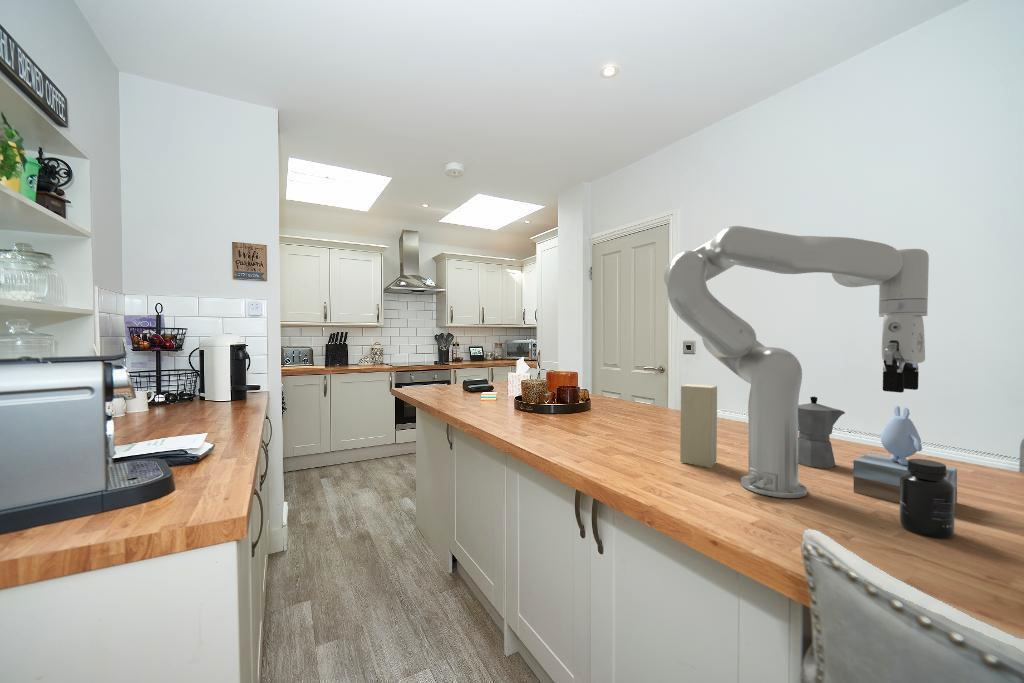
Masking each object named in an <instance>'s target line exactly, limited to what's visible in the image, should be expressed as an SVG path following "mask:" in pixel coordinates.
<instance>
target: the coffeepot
mask: <svg viewBox="0 0 1024 683" xmlns="http://www.w3.org/2000/svg"><path fill="white" fill-rule="evenodd" d="M809 398H810V402H809V403H803V404H798V463H799V464H798V465H801V464H802V466H804V465H806V466H805V467H808V466H811V468H814V467H821V468H820V469H832V468H831V467H833V468H835V467H836V461H835V457H834V452H833V445H832V443H831V442H832V441H831V440H830V438H831V437H830V435H832V433H833V428H834V425H835V424H836V423H837V421H838V420H839V419H840V417H842V415H844V414H846V412H845V411H844V410H841V409H838V408H833V407H830V406H827V405H823V404H820V403H817V402H818V397H816V396H811V397H809ZM834 466H835V467H834Z"/></svg>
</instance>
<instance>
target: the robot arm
mask: <svg viewBox="0 0 1024 683" xmlns="http://www.w3.org/2000/svg"><path fill="white" fill-rule="evenodd" d="M929 262H930V258H929V253H928V251H927V250H924V249H922V248H905V249H903V248H902V249H896V247H893V246H891V245H889V244H886V243H883V242H879V241H874V240H867V239H862V238H854V237H846V236H845V237H844V236H843V237H842V236H822V235H821V236H816V235H795V234H788V233H784V232H778V231H777V232H776V231H770V230H765V229H759V228H754V227H747V226H742V225H732V226H728V227H725V228H723V229H722V230H721V231H719V232H718V233H717V234H716V235H715V236H714V237H713V238H712V239H710V240H709V241H708V242H705V243H704V244H702V245H701V246H698V247H697V248H696V249H694V250H685V251H684V250H683V251H681V252H679V253H678V254H676V255H674V257H672V258H671V260H670V261H669V263H668V264H667V266H666V267H665V269H664V272H663V282H664V283H665V285H666V290H667V292H666V293H667V297H668V300H669V303H670V305H671V308H672V309H673V311H674V313H675V314H676V316H677V317H678V318H680V320H681V321H682V322H683V323H685V324H686V325H687V326H688V327H689V328H690V329H692V330H693V331H694V332H695V333H696V334H697V335H698V336H700V338H701V340H702V344H703V346H704V347H705V349H706V350H707V352H708V353H709V354H711V355H712V356H713V357H714V358H715V359H716V360H718V362H720V363H722V364H723V365H724V366H725V367H726V368H727V369H729V370H730V371H731V372H733V373H734V374H735V375H736V376H738V377H739V378H740V379H741V380H743V381H745V383H747V384H750V390H749V394H748V396H749V397H748V402H747V404H748V407H747V416H748V417H747V418H748V419H747V421H748V423H747V424H748V425H747V426H748V427H747V429H748V432H747V433H748V435H747V437H748V438H747V439H748V440H747V441H748V442H747V444H748V450H747V451H748V454H747V455H748V467H747V468H748V474H746V475H744V476H742V477H741V478H740V484H741V486H742V487H743V488H744V489H747V490H749V491H751V492H754V493H756V494H760V495H763V496H764V495H765V496H768V497H775V498H781V499H797V498H798V499H799V498H802V497H803V498H804V497H805V496H807V494H808V488H807V486H806V485H804V484H803V483H802V482H799V464H798V438H799V431H798V405H799V398H800V392H801V386H802V379H803V370H802V365H801V363H800V360H799V359H798V357H796V356H795V355H794V354H793V353H792V352H790V351H788V350H787V349H784V348H780V347H773V346H771V347H769V346H765V345H764V344H763V343H761V342H760V341H759V340H757V333H756V330H755V329H754V328H753V326H752V325H750V324H749V322H747V321H746V320H745V319H743V318H741V317H740V316H739V315H737V314H736V313H735V312H733V311H732V310H730V309H729V308H728V307H727V306H725V305H724V304H723V303H722V302H721V301H720V300H719V299H717V298H716V297H715V295H713V294H712V293H711V291H710V290H709V288H708V284H707V281H710V280H711V279H713V278H716V277H717V276H719V275H721V274H722V273H724V272H725V271H727V270H729V269H731V268H732V267H734V266H740V267H745V268H751V269H756V270H761V271H767V272H772V273H776V274H782V275H800V274H809V273H810V274H812V273H824V274H831V276H832V278H833V280H834V282H836V283H838V285H840V286H843V287H847V288H861V287H869V286H879V290H878V291H879V293H878V294H879V295H878V297H879V298H878V299H879V300H878V317H880V318H882V317H883V324H882V333H881V334H882V335H881V336H882V337H881V359H882V361H883V366H882V367H883V368H882V391H883V392H891V393H904V392H905V390H913V391H916V390H918V389H919V374H920V373H919V364H921V363H924V361H925V360H926V345H925V342H926V340H925V325H924V318H923V317H927V316H928V311H929V310H928V305H929V302H928V300H929V299H928V298H929V271H930V270H929Z"/></svg>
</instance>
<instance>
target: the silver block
mask: <svg viewBox="0 0 1024 683" xmlns="http://www.w3.org/2000/svg"><path fill="white" fill-rule="evenodd" d="M890 457H891V456H890V455H889V456H888V455H883V454H878V453H872V452H869V453H867V454H864V455H862V456H859V457H858V458H855V459H853V493H855V492H856V494H860V495H863V496H867V497H872V498H875V497H876V499H880V500H885V501H887V502H893V503H895V504H900V478H901V477H902V476H903V475H904V474H907V473H909V471H908V470H907V467H908V466H907V465H902V464H900V463H899V462H894V461H892V460H891V459H890ZM946 473H947V476H946V477H945V479H946V480H948V481H949V482H950V483H951V484H952V485H953V486H954V489H955V505H957V503H958V467H953V466H952V467H951V466H946Z"/></svg>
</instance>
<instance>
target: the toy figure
mask: <svg viewBox="0 0 1024 683" xmlns="http://www.w3.org/2000/svg"><path fill="white" fill-rule="evenodd" d="M902 410H903V411H902V415H901V407H900V406H899V405H895V407H894V408H893V413H894V416H893V417H891V418H890V419H889V420H888V422H886V423H887V424H886V425H885V426H884V428H883V431H882V432H881V434H880V436H879V437H880V442H881V445H882V447H883V448H884V449H885V450H886V451H887V452H888V453H889V454H890V455H891V456H889V457H890V459H891V460H892V461H894V462H899V463H900V464H902V465H907V466H908V460H909V459H907V457H911V456H913V455H915V454H916V453H917V452H921V451H923V445H922V441H921V440H922V439H921V437H920V434H919V432H918V430H917V427H916V425H915V424H914V423H913V421H912V420H911V418H909V417H910V409H909V408H908V407H904V408H903V409H902Z"/></svg>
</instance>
